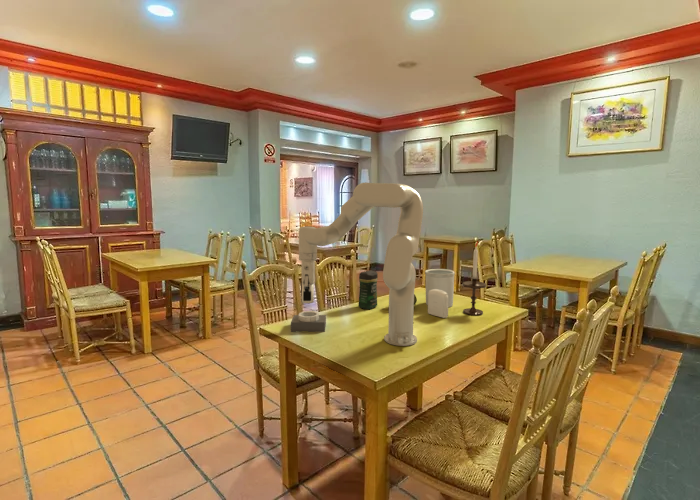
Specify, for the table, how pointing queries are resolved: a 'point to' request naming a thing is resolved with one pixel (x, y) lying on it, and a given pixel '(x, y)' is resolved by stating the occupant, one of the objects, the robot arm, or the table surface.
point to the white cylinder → (311, 294)
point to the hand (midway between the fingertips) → (307, 298)
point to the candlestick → (474, 287)
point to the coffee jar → (368, 289)
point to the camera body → (308, 322)
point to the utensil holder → (440, 282)
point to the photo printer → (438, 303)
